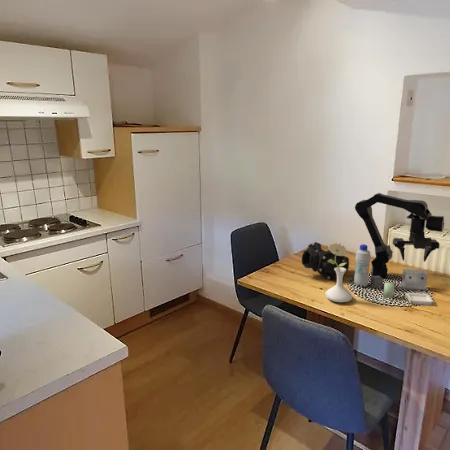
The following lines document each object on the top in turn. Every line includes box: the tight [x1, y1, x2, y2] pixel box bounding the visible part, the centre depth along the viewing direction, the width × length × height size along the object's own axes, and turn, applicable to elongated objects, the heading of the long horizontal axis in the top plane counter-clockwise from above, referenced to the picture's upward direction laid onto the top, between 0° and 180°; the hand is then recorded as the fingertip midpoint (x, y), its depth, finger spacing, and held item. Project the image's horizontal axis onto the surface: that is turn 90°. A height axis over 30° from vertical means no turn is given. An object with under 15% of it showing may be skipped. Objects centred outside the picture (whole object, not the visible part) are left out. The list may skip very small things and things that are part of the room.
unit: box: [401, 268, 428, 292], centre depth 177 cm, size 10×6×8 cm, turn 79°
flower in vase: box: [324, 241, 353, 303], centre depth 166 cm, size 13×11×25 cm
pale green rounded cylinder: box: [382, 281, 395, 299], centre depth 169 cm, size 4×4×6 cm
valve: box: [301, 241, 350, 280], centre depth 200 cm, size 22×15×30 cm
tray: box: [405, 292, 435, 307], centre depth 166 cm, size 9×8×2 cm
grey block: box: [369, 275, 384, 288], centre depth 181 cm, size 4×4×4 cm
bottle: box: [353, 243, 372, 288], centre depth 180 cm, size 7×7×20 cm
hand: (413, 260), depth 181 cm, fingers open, 9 cm apart
